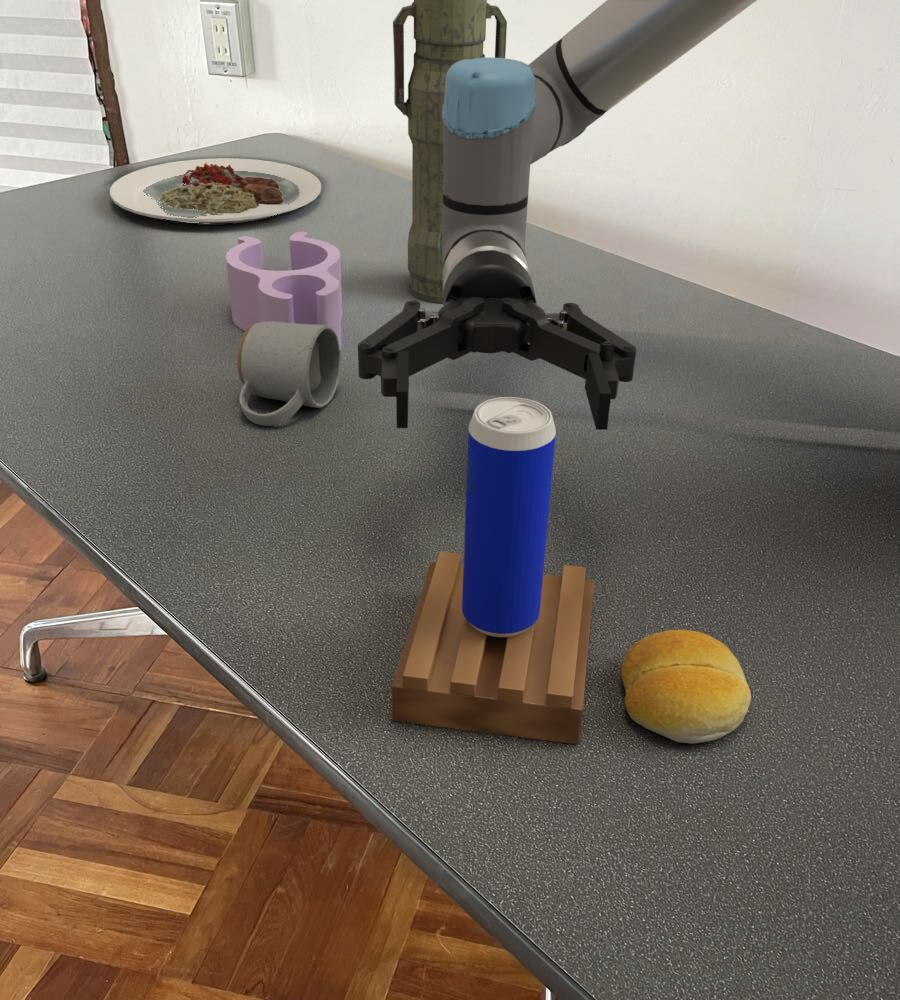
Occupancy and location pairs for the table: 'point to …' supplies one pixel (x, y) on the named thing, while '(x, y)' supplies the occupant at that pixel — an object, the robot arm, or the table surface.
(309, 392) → the ceramic mug
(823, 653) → the table surface
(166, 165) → the plated food
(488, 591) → the beverage can
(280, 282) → the clip
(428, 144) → the olive green vase
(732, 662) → the bread roll
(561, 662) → the rack
